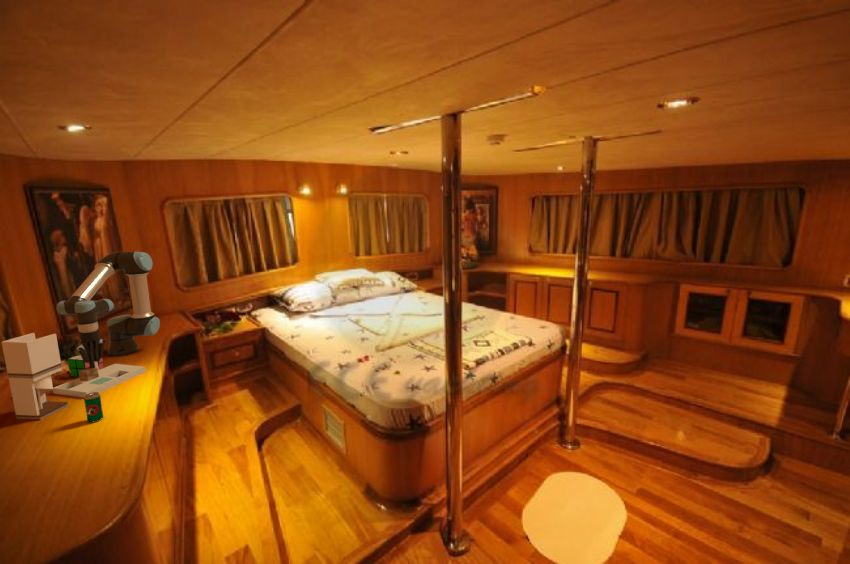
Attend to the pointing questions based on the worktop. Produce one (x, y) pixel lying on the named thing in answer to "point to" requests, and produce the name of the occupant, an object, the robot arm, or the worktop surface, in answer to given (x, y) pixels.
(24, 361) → the coffee machine
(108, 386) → the board
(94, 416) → the soda can
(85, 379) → the walnut block
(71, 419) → the worktop surface
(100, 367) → the puzzle cube
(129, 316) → the robot arm
